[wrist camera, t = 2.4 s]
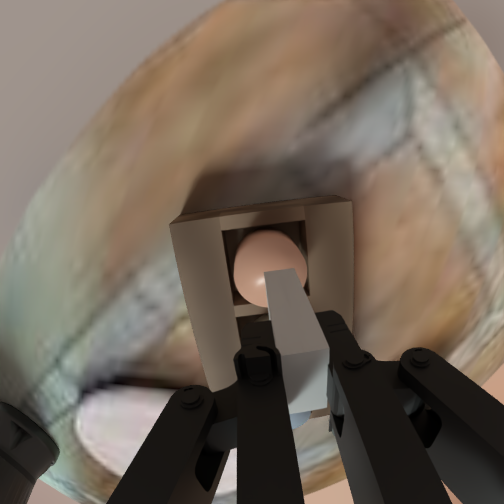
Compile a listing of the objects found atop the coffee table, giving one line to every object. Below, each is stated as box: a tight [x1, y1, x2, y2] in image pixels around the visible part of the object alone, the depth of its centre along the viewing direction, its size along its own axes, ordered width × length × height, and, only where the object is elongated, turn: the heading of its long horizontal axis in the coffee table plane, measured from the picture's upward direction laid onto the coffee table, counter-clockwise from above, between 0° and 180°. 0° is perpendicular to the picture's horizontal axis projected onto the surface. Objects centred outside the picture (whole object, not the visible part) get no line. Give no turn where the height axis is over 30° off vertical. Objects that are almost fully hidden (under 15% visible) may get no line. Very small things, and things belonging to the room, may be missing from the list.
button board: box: [169, 195, 354, 419], centre depth 23 cm, size 12×20×4 cm, turn 7°
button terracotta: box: [234, 227, 307, 307], centre depth 19 cm, size 4×4×3 cm
